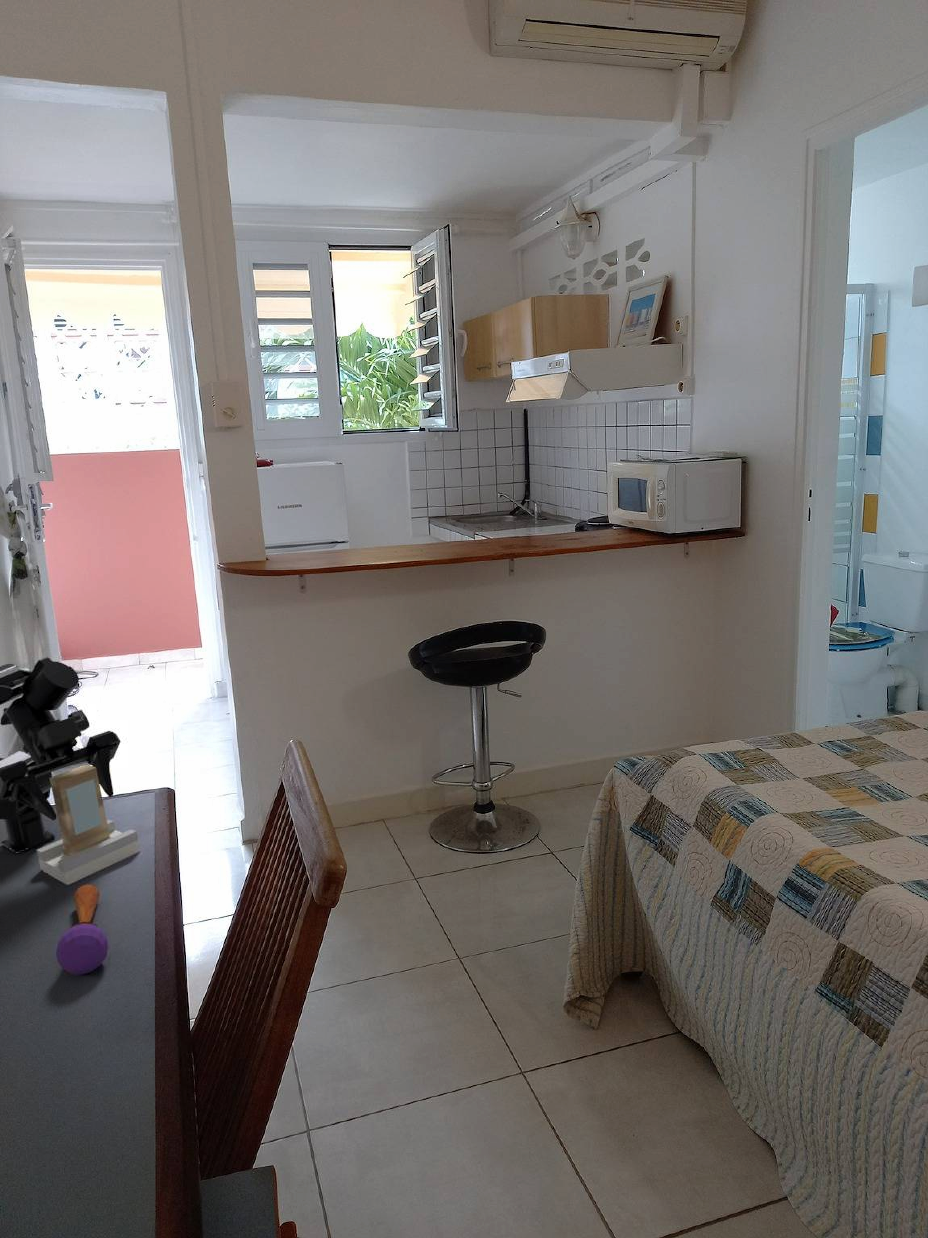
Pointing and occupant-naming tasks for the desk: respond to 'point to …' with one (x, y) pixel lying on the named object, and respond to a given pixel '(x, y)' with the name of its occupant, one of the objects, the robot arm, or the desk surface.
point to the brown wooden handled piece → (83, 936)
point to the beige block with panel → (79, 809)
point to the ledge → (91, 866)
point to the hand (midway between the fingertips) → (84, 807)
